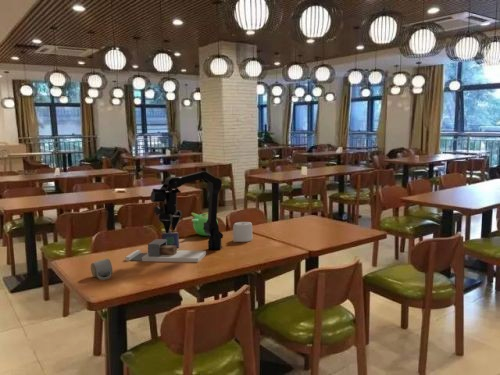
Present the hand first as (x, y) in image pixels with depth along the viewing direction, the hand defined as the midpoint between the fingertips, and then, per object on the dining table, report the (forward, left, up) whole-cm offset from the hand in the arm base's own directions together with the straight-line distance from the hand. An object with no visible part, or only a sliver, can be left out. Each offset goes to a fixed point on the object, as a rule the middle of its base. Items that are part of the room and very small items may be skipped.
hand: (170, 231), depth 230 cm
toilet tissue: (-31, -38, -14) cm, 51 cm away
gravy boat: (-4, -50, -14) cm, 52 cm away
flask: (+7, -18, -14) cm, 24 cm away
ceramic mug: (+21, +33, -14) cm, 42 cm away
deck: (+3, +1, -14) cm, 14 cm away
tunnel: (+7, +1, -12) cm, 14 cm away
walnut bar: (+5, +1, -12) cm, 13 cm away
